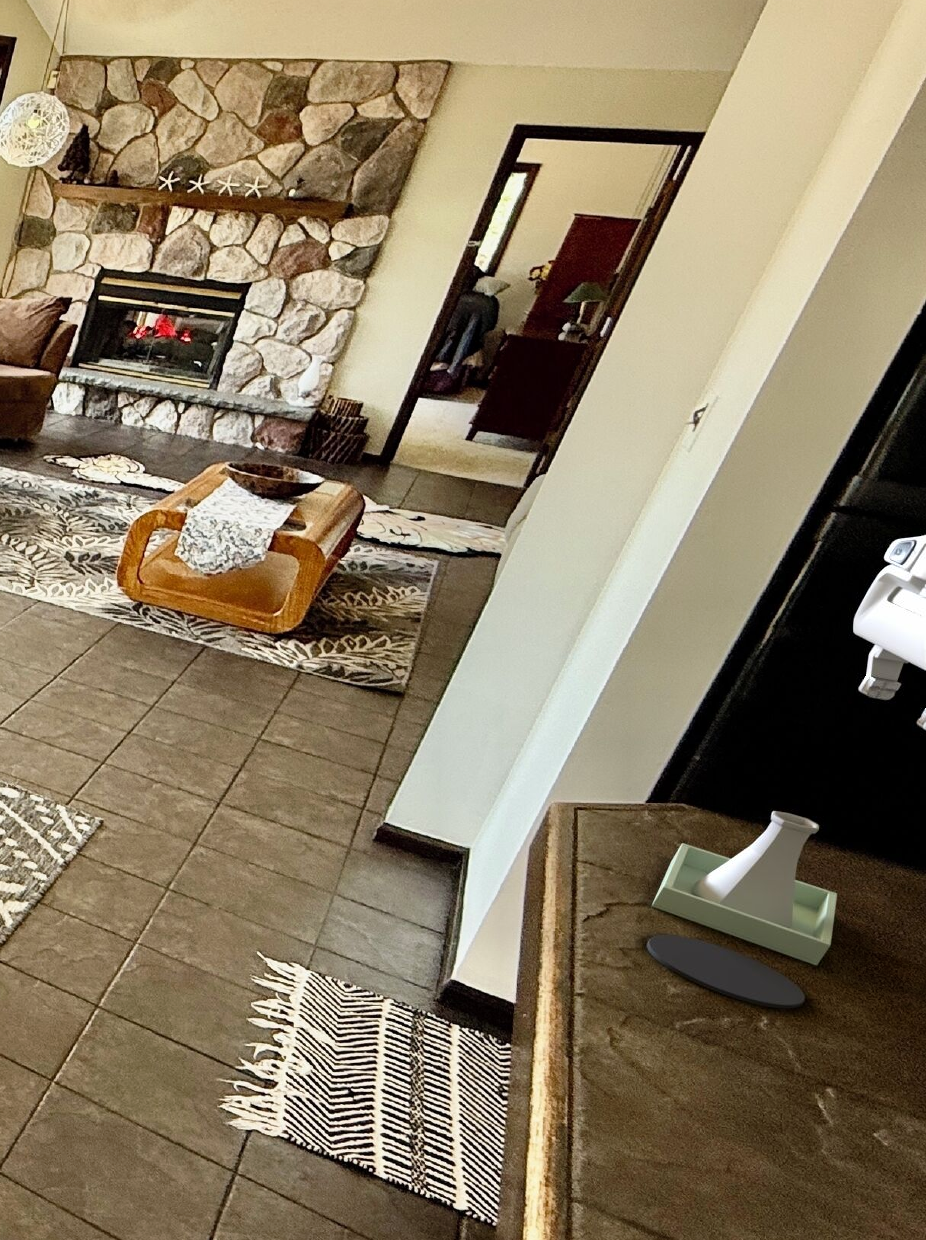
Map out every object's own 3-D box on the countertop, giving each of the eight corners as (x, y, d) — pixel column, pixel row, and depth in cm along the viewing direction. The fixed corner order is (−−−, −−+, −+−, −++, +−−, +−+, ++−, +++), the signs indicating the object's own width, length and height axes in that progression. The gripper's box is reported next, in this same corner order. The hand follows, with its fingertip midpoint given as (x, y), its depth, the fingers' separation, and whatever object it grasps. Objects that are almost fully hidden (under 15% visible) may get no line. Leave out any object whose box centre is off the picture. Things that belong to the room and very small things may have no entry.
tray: (671, 861, 121) (682, 842, 120) (824, 912, 113) (837, 893, 112) (651, 906, 112) (663, 886, 111) (816, 965, 104) (830, 945, 103)
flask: (774, 902, 113) (831, 816, 109) (806, 938, 108) (867, 847, 104) (678, 878, 117) (729, 793, 113) (704, 911, 111) (759, 822, 107)
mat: (768, 961, 104) (770, 957, 104) (828, 1023, 96) (831, 1019, 95) (628, 926, 108) (630, 922, 108) (674, 983, 99) (676, 979, 99)
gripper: (1139, 609, 89) (1026, 765, 94) (974, 551, 106) (886, 686, 111) (1024, 591, 91) (921, 744, 97) (881, 537, 108) (800, 670, 114)
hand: (901, 713), depth 104 cm, fingers open, 8 cm apart
